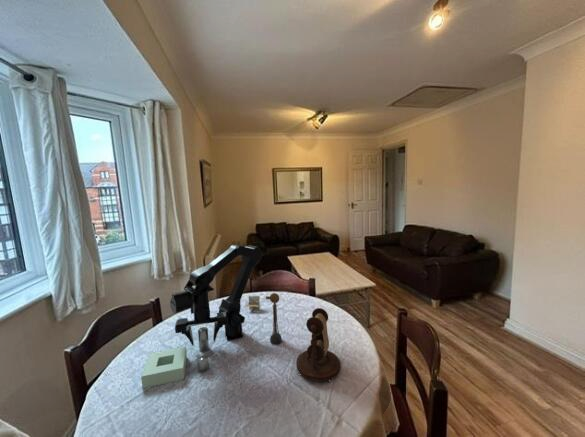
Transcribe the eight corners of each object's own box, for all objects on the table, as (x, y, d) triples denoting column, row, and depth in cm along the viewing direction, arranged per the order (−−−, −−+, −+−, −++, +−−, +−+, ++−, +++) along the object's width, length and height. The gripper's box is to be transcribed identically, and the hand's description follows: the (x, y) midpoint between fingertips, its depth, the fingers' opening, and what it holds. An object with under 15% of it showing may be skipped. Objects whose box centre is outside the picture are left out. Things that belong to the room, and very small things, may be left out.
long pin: (208, 345, 103) (207, 326, 103) (208, 350, 100) (207, 330, 99) (199, 347, 102) (198, 328, 102) (199, 352, 99) (197, 332, 98)
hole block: (186, 357, 97) (186, 346, 96) (183, 379, 85) (183, 367, 85) (150, 364, 93) (149, 353, 93) (142, 388, 82) (141, 376, 81)
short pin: (208, 364, 92) (208, 354, 92) (208, 371, 89) (208, 360, 88) (198, 367, 91) (197, 356, 91) (197, 373, 88) (197, 362, 87)
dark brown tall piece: (335, 390, 79) (335, 327, 77) (290, 379, 84) (288, 319, 82) (343, 360, 93) (343, 305, 91) (304, 352, 98) (303, 300, 96)
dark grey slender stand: (265, 343, 104) (264, 294, 102) (269, 337, 108) (267, 290, 106) (280, 345, 103) (278, 296, 100) (283, 338, 107) (281, 291, 105)
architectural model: (259, 313, 131) (258, 298, 130) (245, 313, 131) (244, 298, 130) (260, 310, 134) (259, 296, 133) (246, 310, 135) (246, 296, 134)
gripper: (225, 292, 110) (227, 328, 111) (176, 299, 104) (179, 336, 106) (227, 303, 99) (229, 342, 101) (173, 311, 94) (176, 352, 95)
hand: (203, 342), depth 101 cm, fingers open, 7 cm apart
